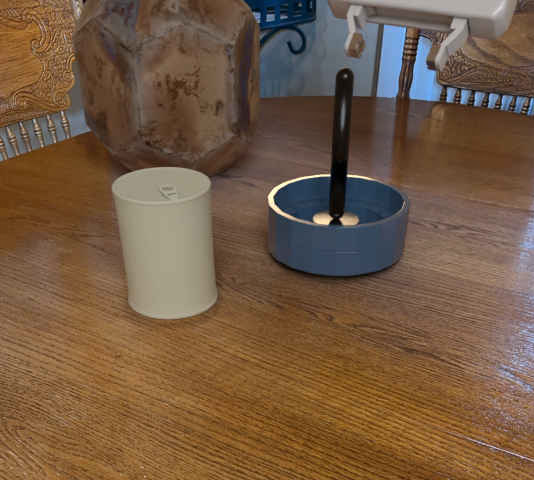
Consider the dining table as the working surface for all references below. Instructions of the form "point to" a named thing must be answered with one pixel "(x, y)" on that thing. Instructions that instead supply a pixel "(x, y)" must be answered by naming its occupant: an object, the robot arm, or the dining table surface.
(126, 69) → the planter
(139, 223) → the can
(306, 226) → the bowl
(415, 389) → the dining table surface
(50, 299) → the dining table surface
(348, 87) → the black handled meat pounder
